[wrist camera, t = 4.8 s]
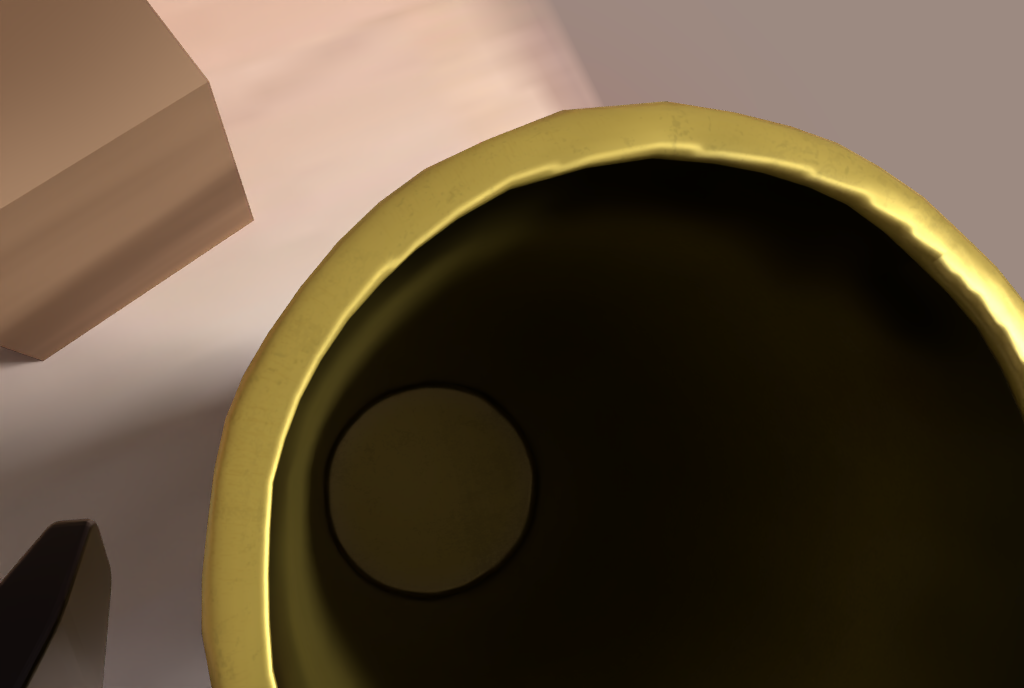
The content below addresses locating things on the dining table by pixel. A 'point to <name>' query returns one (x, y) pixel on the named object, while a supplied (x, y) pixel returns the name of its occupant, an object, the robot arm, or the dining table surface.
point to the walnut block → (101, 166)
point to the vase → (630, 429)
